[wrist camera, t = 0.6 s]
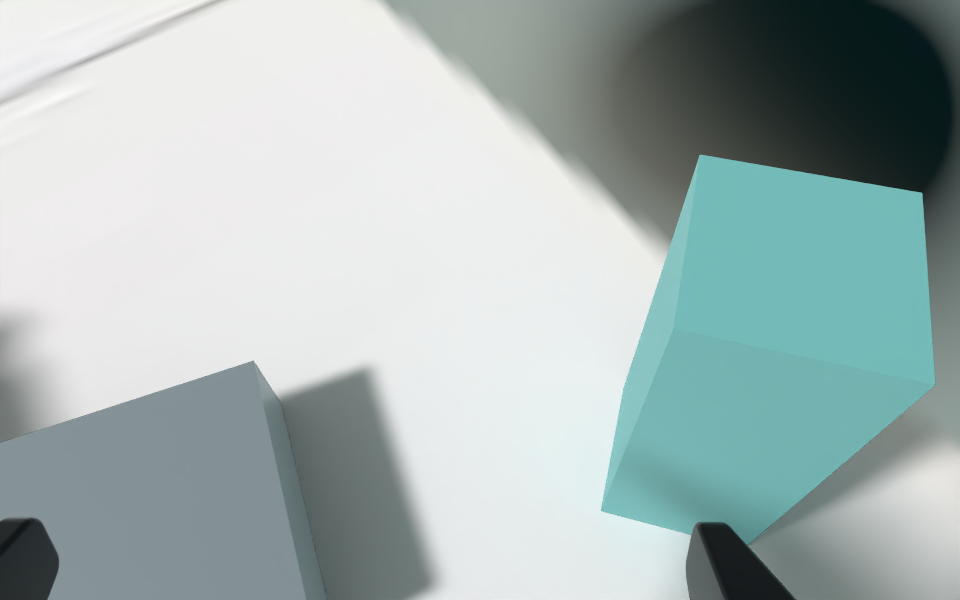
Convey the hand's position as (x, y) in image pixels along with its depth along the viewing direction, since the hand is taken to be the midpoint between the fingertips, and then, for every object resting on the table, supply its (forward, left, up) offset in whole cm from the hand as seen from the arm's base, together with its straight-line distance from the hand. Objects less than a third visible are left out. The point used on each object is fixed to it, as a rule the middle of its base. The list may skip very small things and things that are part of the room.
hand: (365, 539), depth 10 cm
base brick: (+6, +8, -16) cm, 19 cm away
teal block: (+3, -10, -16) cm, 19 cm away
